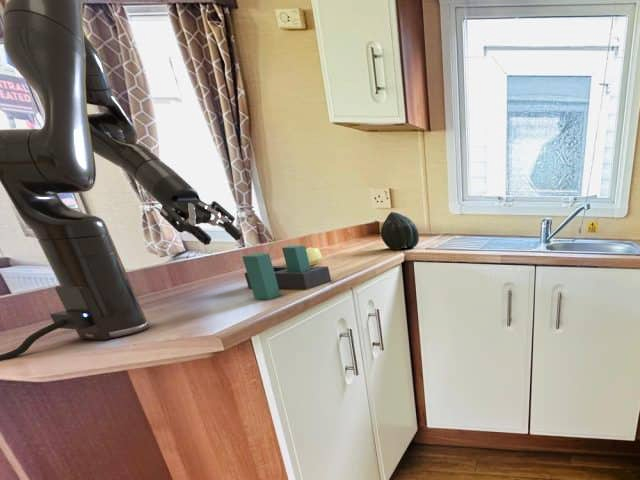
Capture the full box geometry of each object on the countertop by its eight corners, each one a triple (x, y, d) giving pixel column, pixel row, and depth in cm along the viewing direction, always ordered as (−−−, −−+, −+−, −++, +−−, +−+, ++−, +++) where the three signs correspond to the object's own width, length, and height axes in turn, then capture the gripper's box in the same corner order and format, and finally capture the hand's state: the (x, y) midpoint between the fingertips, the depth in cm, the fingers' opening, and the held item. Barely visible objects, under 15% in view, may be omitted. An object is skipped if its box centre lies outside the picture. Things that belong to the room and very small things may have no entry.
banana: (329, 240, 147) (284, 256, 132) (336, 255, 150) (293, 273, 134) (304, 249, 154) (258, 266, 138) (312, 264, 156) (268, 282, 141)
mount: (306, 289, 109) (302, 273, 107) (248, 288, 113) (244, 273, 112) (331, 280, 118) (328, 266, 116) (276, 280, 122) (272, 266, 121)
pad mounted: (304, 286, 113) (294, 247, 108) (291, 286, 114) (281, 247, 109) (314, 283, 116) (305, 245, 112) (301, 283, 117) (292, 245, 113)
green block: (268, 299, 100) (256, 256, 96) (254, 299, 101) (241, 256, 97) (280, 295, 104) (269, 253, 99) (267, 295, 105) (255, 253, 100)
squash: (422, 235, 168) (412, 204, 172) (384, 240, 164) (375, 208, 167) (421, 256, 181) (412, 227, 185) (386, 261, 177) (377, 231, 180)
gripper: (140, 173, 88) (203, 230, 90) (200, 174, 101) (254, 224, 103) (131, 202, 92) (192, 256, 94) (190, 199, 104) (243, 247, 106)
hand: (224, 239), depth 98 cm, fingers open, 8 cm apart
